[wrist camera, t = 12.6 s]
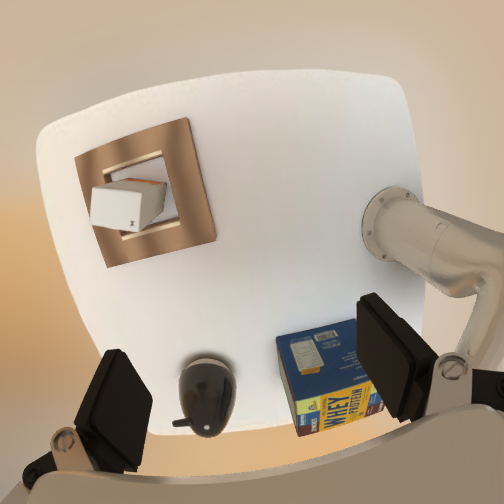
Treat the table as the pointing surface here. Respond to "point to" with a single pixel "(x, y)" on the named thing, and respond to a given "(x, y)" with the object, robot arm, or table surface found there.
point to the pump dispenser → (206, 397)
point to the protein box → (325, 378)
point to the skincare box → (127, 204)
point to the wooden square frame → (182, 183)
